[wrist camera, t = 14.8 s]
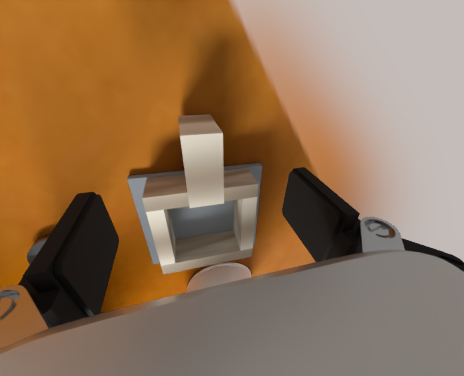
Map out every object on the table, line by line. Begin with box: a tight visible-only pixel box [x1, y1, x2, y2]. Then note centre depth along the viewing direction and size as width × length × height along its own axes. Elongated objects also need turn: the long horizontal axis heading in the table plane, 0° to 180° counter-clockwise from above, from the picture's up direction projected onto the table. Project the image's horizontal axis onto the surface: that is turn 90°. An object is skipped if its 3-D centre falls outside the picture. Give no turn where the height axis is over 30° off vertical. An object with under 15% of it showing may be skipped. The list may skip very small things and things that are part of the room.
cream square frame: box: [142, 114, 258, 274], centre depth 17 cm, size 14×9×5 cm, turn 0°
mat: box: [127, 163, 262, 264], centre depth 21 cm, size 11×12×1 cm
